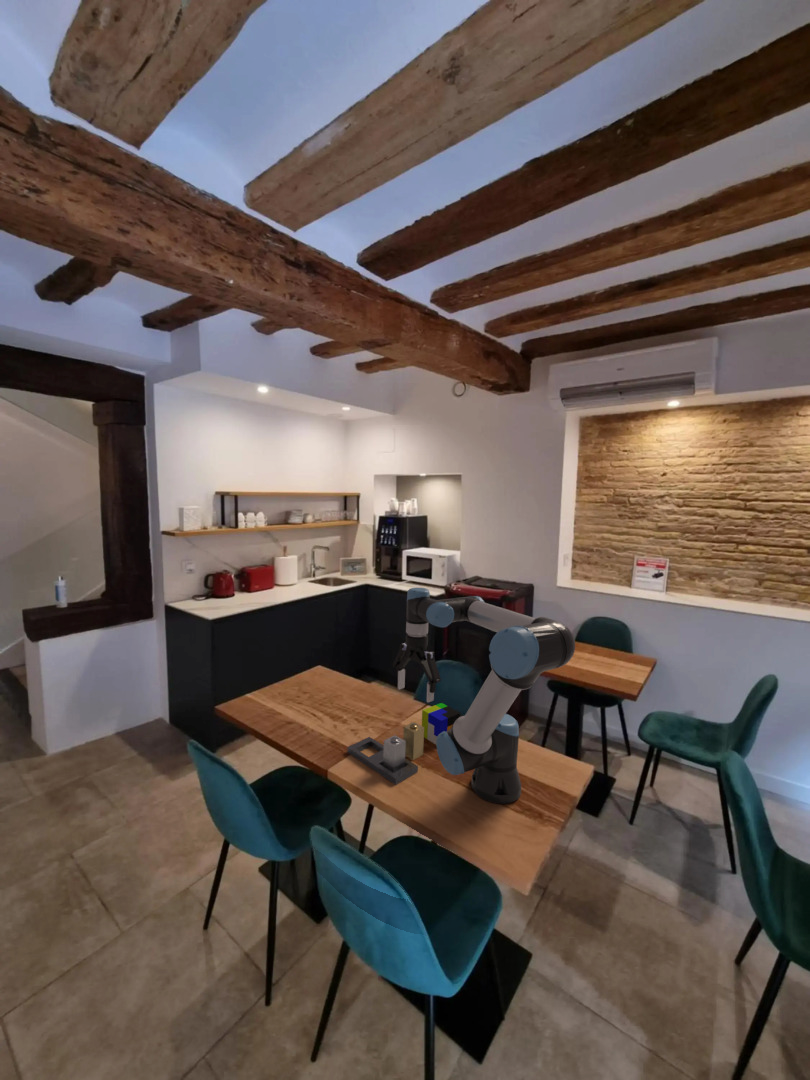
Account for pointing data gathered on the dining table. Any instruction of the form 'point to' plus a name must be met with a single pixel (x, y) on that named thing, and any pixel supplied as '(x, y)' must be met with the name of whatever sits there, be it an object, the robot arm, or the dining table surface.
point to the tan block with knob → (413, 740)
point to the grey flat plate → (380, 761)
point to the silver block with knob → (394, 754)
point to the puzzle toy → (438, 720)
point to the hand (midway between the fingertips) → (415, 694)
